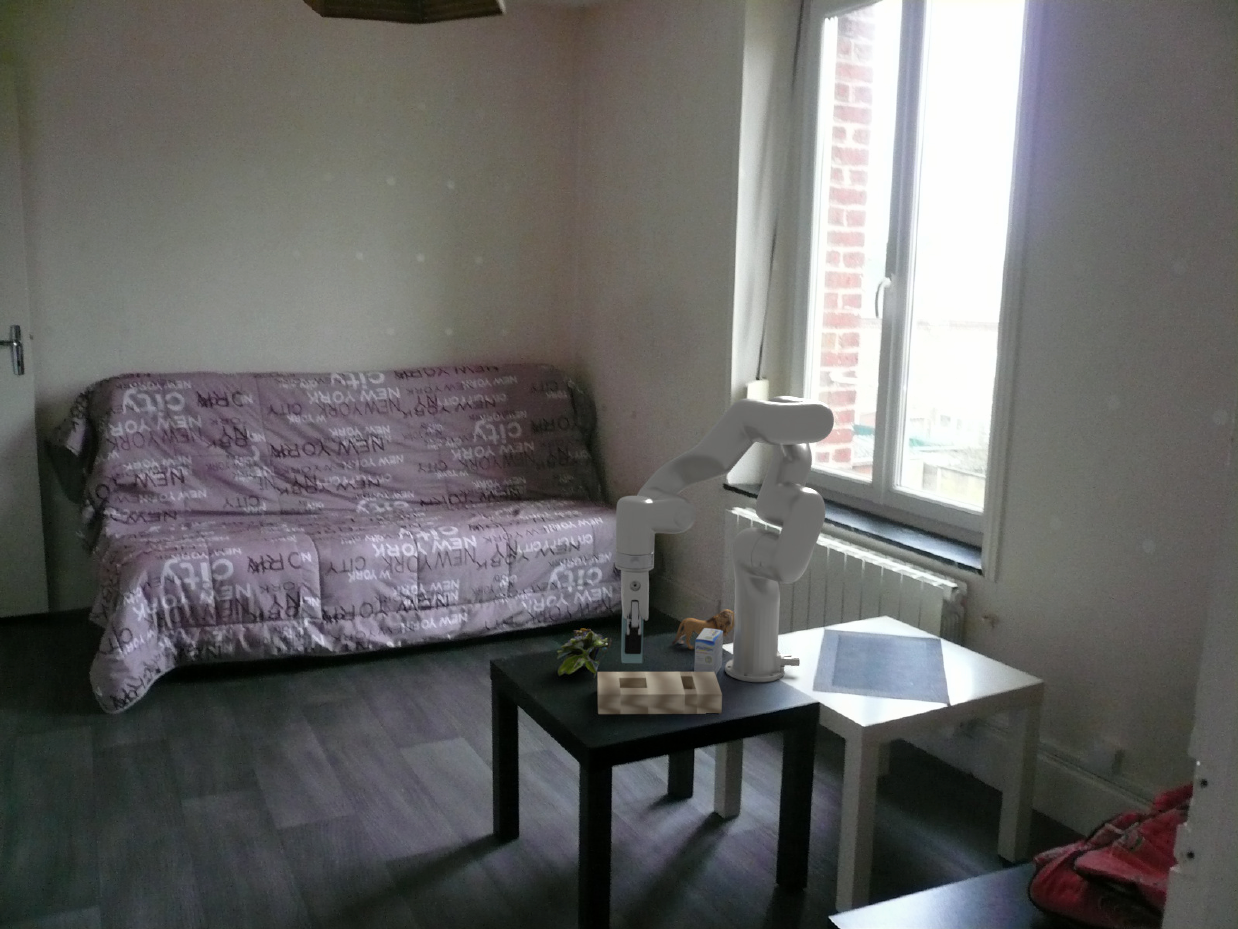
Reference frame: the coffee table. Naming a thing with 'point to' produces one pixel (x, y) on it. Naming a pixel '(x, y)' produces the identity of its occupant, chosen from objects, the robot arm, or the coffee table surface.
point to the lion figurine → (705, 626)
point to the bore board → (658, 693)
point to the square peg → (624, 657)
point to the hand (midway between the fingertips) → (632, 648)
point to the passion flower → (583, 651)
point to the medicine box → (708, 651)
